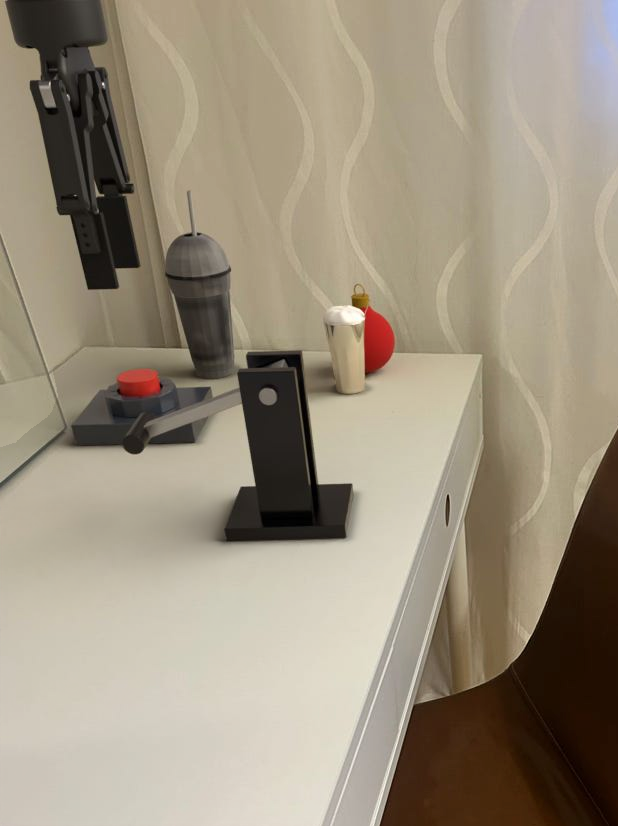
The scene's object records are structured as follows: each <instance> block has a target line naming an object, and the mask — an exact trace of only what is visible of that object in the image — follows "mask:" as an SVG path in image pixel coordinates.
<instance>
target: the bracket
mask: <svg viewBox="0 0 618 826" xmlns="http://www.w3.org/2000/svg"><path fill="white" fill-rule="evenodd" d="M283 359H284V360H285V361H286V363H287V366H288V367H280V368H262V367H265V366H267V365H270V364H273V363H275V362H278V361H281V360H283ZM245 360H246V367H244V368H238V370H237V373H236V374H237V381H238V386H239V387H238V388H240V394H241V400H242V404H241V405H242V406H241V407H242V412H243V413H242V414H243V418H244V425H245V430H246V431H245V432H246V436H247V442H248V450H249V454H250V461H251V467H252V473H253V478H254V479H253V481H254V485H249V486H246V485H245V486H243V485H242V486H240V488H239V490H238V493H237V495H236V498H235V500H234V503H233V505H232V508H231V510H230V513H229V515H228V517H227V520H226V524H225V525H224V528H223V531H224V536H225V540H226V542H244V541H245V542H246V541H247V542H249V541H251V542H252V541H279V540H281V541H282V540H285V541H286V540H313V539H314V540H315V539H317V540H318V539H319V540H320V539H346V538H347V535H348V531H349V530H348V529H349V524H350V517H351V513H352V506H353V500H354V495H355V494H354V485H353V483H351V482H350V483H319V478H318V471H317V463H316V462H317V461H316V454H315V445H314V438H313V437H314V436H313V429H312V421H311V420H312V419H311V413H310V404H309V403H310V402H309V396H308V387H307V381H306V379H307V378H306V372H305V363H304V355H303V350H301V349H300V350H299V349H298V350H263V351H261V350H260V351H258V350H257V351H247V353H246V354H245Z"/></svg>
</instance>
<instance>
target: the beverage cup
mask: <svg viewBox="0 0 618 826" xmlns="http://www.w3.org/2000/svg"><path fill="white" fill-rule="evenodd" d="M186 197H187V205H188V212H189V220H190V221H189V223H190V229H191V231H189V232H185V233H182V234H180V235H179V236H177V237H176V238H174V239H173V241H172V242H171V243H170V245H169V247H168V248H167V251H166V255H165V259H164V260H165V261H164V262H165V263H164V267H165V268H164V269H165V272H164V277H166V278H167V282H168V286H169V289H170V291H171V293H172V294H173V297H174V300H175V305H176V308H177V311H178V315H179V319H180V322H181V326H182V329H183V333H184V337H185V340H186V344H187V348H188V351H189V355H190V358H191V362H192V363H193V367H194V369H195V374H196V376H197V377H199V378H202V379H209V380H210V379H211V380H214V379H221V378H226V377H229V376H231V375H233V374H234V373H235V372H236V367H235V348H234V347H235V345H234V334H233V331H234V330H233V321H232V319H233V318H232V305H231V292H230V290H231V272H232V268H231V265H230V264H229V263H230V262H229V259H228V257H227V254H226V252H225V250H224V248H223V247H222V246H221V244H219V242H218V241H216V240H215V239H214V237H213V238H212V237H211V236H210V235H208V234H206V233H203V232H199V231H197V226H196V216H195V209H194V201H193V194H192V190H186Z"/></svg>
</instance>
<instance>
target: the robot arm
mask: <svg viewBox="0 0 618 826" xmlns="http://www.w3.org/2000/svg"><path fill="white" fill-rule="evenodd" d="M4 3H5V4H4V5H5V8H6V12H7V14H8V20H9V24H10V28H11V32H12V36H13V39H14V42H15V44H16V45H17V46H18V47H19V48H21V49H28V50H30V49H35V50H36V51H38V52H37V53H38V55H39V64H40V79H31V80H29V91H30V93H31V97H32V100H33V103H34V106H35V109H36V112H37V115H38V120H39V125H40V131H41V135H42V141H43V145H44V150H45V155H46V159H47V165H48V169H49V174H50V179H51V185H52V188H53V193H54V198H55V204H56V206H55V208H56V211H57V214H58V215H59V216H69V217H70V223H71V225H72V230H73V233H74V238H75V242H76V246H77V250H78V254H79V259H80V263H81V267H82V271H83V277H84V279H85V283H86V287H87V290H88V291H94V290H97V291H99V290H101V291H102V290H118V289H119V288H120V285H119V284H120V283H119V278H118V274H117V270H118V269H139V268H141V261H140V256H139V252H138V247H137V242H136V237H135V232H134V228H133V222H132V217H131V213H130V208H129V203H128V198H127V195H134V194H135V185H134V183H130V182H131V175H130V172H129V167H128V163H127V159H126V155H125V151H124V146H123V142H122V139H121V135H120V130H119V126H118V125H119V124H118V121H117V116H116V113H115V109H114V104H113V101H112V96H111V89H110V82H109V74H108V71H107V68H106V67H105V66H95V64H94V61H93V58H92V55H91V51H90V49H89V48H92V47H93V48H94V47H100V46H104V45H106V44H107V42H108V40H109V35H108V31H107V26H106V21H105V15H104V10H103V5H102V0H4ZM96 189H97V192H98V194H99V195H98V196H97V193H96ZM101 195H102V196H101Z"/></svg>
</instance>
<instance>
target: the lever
mask: <svg viewBox="0 0 618 826" xmlns="http://www.w3.org/2000/svg"><path fill="white" fill-rule="evenodd" d="M280 367H288V366H287V363H286V361H285V360H284V359H283V360H281V361H278V362H275V363H273V364H270V365H267V366H265V367H262V368H280ZM240 405H242V400H241V394H240V388H239V387H237V388H234V389H231V390H229V391H226V392H224V393H221V394H217V395H215V396H213V398H210V399H207V400H205V401H202V402H199V403H197V404H194V405H191V406H189V407H186V408H183V409H181V410H178V411H175V412H173V413H170V414H167V415H165V416H162V417H159V418H157V417H156V416H155V415H154V414H153V413H150V412H143V413H141V414H140V415H139V417H138V418H137V420H136V421H135V423H134V424H133V426H132V427H131V428H130V430H129V431H128V433H127V434H126V436H125V437H124V439H123V442H122V444H121V445H122V447H123V449H124V450H125V452H127V453H128V454H131V455H139V454H141V453H143V452H144V450H145V448H146V447H147V445H148V444H147V443H148V442H149V440H150V438H151V437H154V436H156V435H159V434H162V433H164V432H167V431H170V430H172V429H175V428H178V427H180V426H183V425H186V424H188V423H191V422H194V421H196V420H199V419H202V418H205V417H207V416H209V417H210V416H213V415H215V414H218V413H220V412H224V411H226V410H229V409H231V408H234V407H236V406H240Z"/></svg>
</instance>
